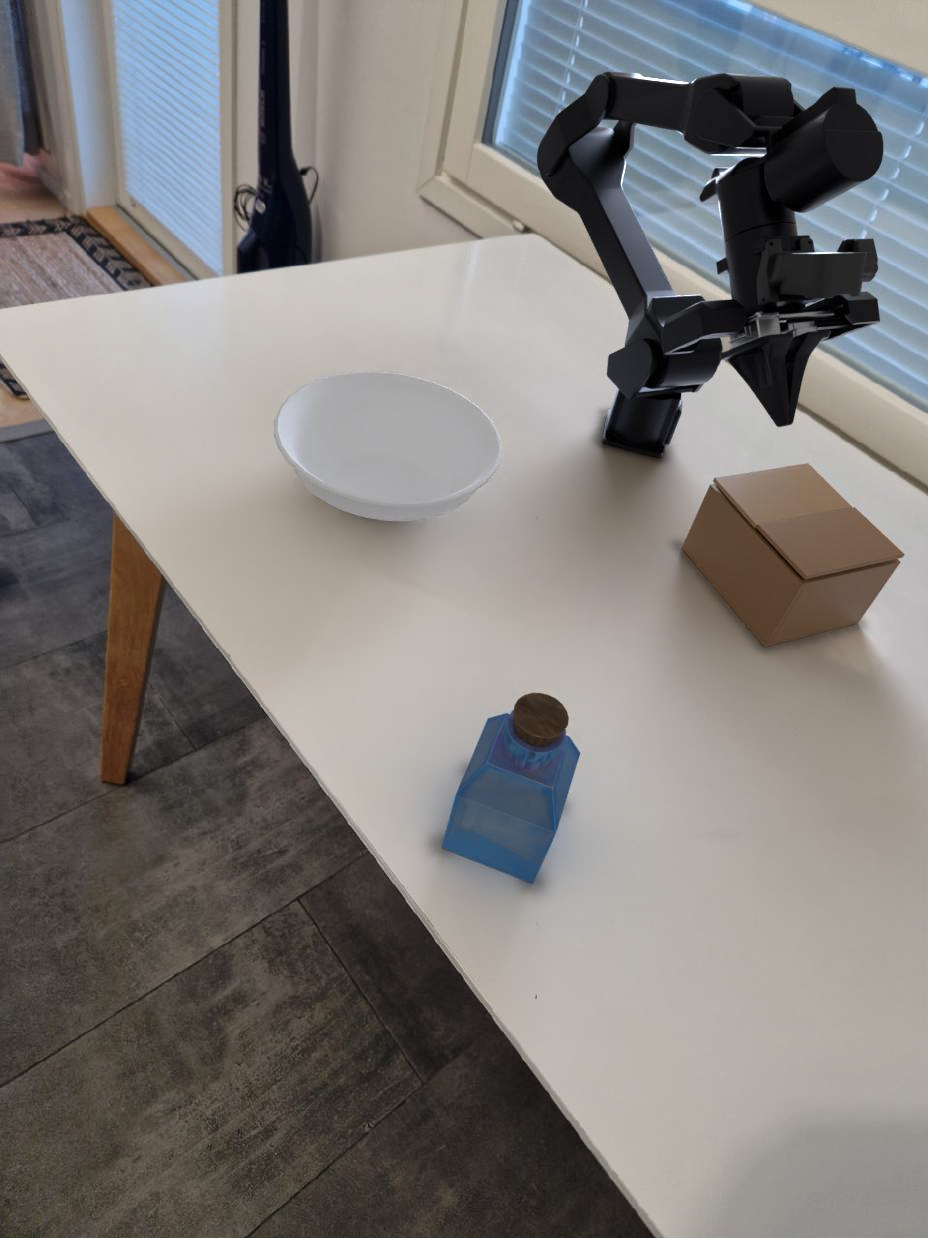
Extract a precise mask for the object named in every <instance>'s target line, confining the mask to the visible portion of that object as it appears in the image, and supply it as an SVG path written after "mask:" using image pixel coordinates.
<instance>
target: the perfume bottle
mask: <svg viewBox="0 0 928 1238" xmlns="http://www.w3.org/2000/svg"><path fill="white" fill-rule="evenodd" d="M569 721H570V717H569V714H568V710H567V709H566V707H565V705H564V704H563V703H562V702H561V701H560V700H558V699H557V697H556V698H555V697H554V696H552V695H550V694H546V693H543V692H530V693H527V694H523V695H522V696H520V698H518V699H517V700H516V702H515V703H514V706H513V709H512V710H511V711H510V713H508V712H504V713H502V714H498V715H494V716H491V717H488V718H487V719H486V722H485V724H484V726H483V728H482V731H481V734H480V736H479V738H478V741H477V743H476V746H475V747H474V750H473V753H472V755H471V757H470V759H469V761H468V764H467V767H466V770H465V772H464V774H463V776H462V779H461V781H460V784H459V786H458V788H457V791H456V792H455V793H456V794H455V796H454V800H453V804H452V807H451V811H450V814H449V818H448V821H447V826H446V829H445V831H444V836H443V839H442V844H441V849H444V850H446V851H449V852H451V853H454V854H456V855H459V856H461V857H464V858H466V859H468V860H470V861H473V862H476V863H478V864H481V865H483V866H486V867H489V868H491V869H494V870H497V871H499V872H502V873H504V874H506V875H509V876H512V877H513V878H517V879H519V880H522V881H524V882H527V883H529V884H532V885H534V883H535V882H536V879H537V877H538V875H539V872H540V870H541V867H542V866H543V863H544V861H545V859H546V856H547V855H548V852H549V851H550V847H551V846H552V843H553V842H554V839H555V836H556V835H557V832H558V828H559V825H560V821H561V818H562V815H563V812H564V808H565V806H566V801H567V798H568V795H569V791H570V789H571V786H572V783H573V780H574V779H573V778H574V776H575V772H576V769H577V765H578V762H579V759H580V756H581V751H580V750H579V749H578V747H577V745H576V744H575V743H574V741H573V740H572V738H571V737H570V736H569V735H567V727H568V726H569Z"/></svg>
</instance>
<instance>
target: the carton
mask: <svg viewBox="0 0 928 1238" xmlns="http://www.w3.org/2000/svg"><path fill="white" fill-rule="evenodd" d="M681 550H682V551H683V552H684V553H685V554H686V555H687V556H688V558H689V559H690V560H691V561H692V562H693V563H694V565H695V566H696V567H697V569H698V570H699V571H700V572H701V573H702V575H703V576H704V577H705V578H706V579H707V580H708V581H709V583H710V584H711V585H712V586H713V588H714V589H715V590H716V591H717V592H718V594H720V596H721V598H723V600H724V601H725V602H726V603H727V604H728V606H729V607H730V608H731V609H732V611H734V613H735V614H736V615H737V616H738V618H739V619H740V620H741V621H742V622H743V624H744V625H745V626H746V627H747V628H748V630H749V631H750V632H751V633H752V634H753V635H754V637H755V638H756V639H757V640H758V642H759V643H760V644H761V645H762V646H763V647H764V648H767V647H770V646H771V647H772V646H774V645H775V646H776V645H778V644H783V643H787V642H790V641H794V640H797V639H801V638H805V637H809V636H813V635H817V634H821V633H825V632H829V631H832V630H837V629H841V628H844V627H849V626H852V625H856V624H859V623H860V621H861V620H862V618H863V617H864V616H865V614H866V613H867V611H868V610H869V609H870V607H871V606H872V604H873V603H874V601H875V600H876V598H877V597H878V595H879V594H880V593H881V591H882V590H883V588H884V587H885V586H886V584H887V583H888V581H889V580H890V578H891V577H892V576H893V574H894V572H895V571H896V570H897V568H898V567H899V565H900V564H901V560H900V559H903V557H905V553H904V552H903V551H902V550H901V549H900V547H898V546H896V544H895V543H893V542H892V540H891V539H889V538H888V537H887V536H886V535H885V534H884V533H883V532H882V531H881V530H879V528H878V527H877V526H875V524H873V523H872V522H871V521H870V520H869V519H868V518H867V517H866V516H865V515H864V514H863V513H862V512H861V511H859V510H858V509H857V508H856V507H855V506H852V508H847V509H841V510H836V511H831V512H825V513H820V514H815V515H809V516H804V517H799V518H794V519H788V520H783V521H778V522H772V523H767V524H762V525H758V527H757V528H754V527H753V526H752V525H751V523H750V522H749V521H748V520H747V519H746V518H745V517H744V516H743V515H742V513H741V512H740V511H739V510H738V509H737V508H736V507H735V506H734V504H733V503H732V502H731V501H730V500H729V499H728V498H727V497H726V495H725V494H724V493H723V492H722V491H721V490H720V489H719V488H718V486H717V485H716V484H715V483H712V484H711V483H710V484H709V486H708V488H707V491H706V493H705V495H704V497H703V499H702V501H701V504H700V506H699V509H698V511H697V513H696V515H695V517H694V519H693V522H692V524H691V526H690V528H689V531H688V533H687V535H686V537H685V539H684V542H683V544H682V546H681Z"/></svg>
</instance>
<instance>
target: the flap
mask: <svg viewBox="0 0 928 1238" xmlns="http://www.w3.org/2000/svg"><path fill="white" fill-rule="evenodd" d="M712 482H713V484H716V485H717V486H718V488H719V489H720V490H721V491H722V492H723V493H724V494H725V495H726V497H727V498H728V499H729V500H730V501H731V502H732V503H733V504H734V506H735V507H736V508H737V509H738V510H739V511H740V512H741V513H742V515H743V516H744V517H745V518H746V519H747V520H748V521H749V522H750V523H751V525H752V526H753V527H754V528H757V527H758V525H762V524H767V523H772V522H778V521H783V520H788V519H794V518H799V517H804V516H809V515H815V514H820V513H825V512H831V511H836V510H841V509H847V508H852V507H853V506H852V505H851V504H850V503H849V502H848V501H847V499H845V498H844V497H843V496H842V495H841V494H840V493H839V492H838V491H837V490H836V489H835V488H834V487H833V486H832V485H831V484H830V483H829V482H828V481H827V480H826V479H825V478H824V477H823V476H822V475H821V474H820V473H818V471H817V470H816V469H814V468H813V466H812V465H810V463H808V462H805V463H799V464H793V465H786V466H781V467H774V468H767V469H762V470H755V471H749V472H742V473H736V474H730V475H725V476H723V475H722V476H717V477H714V478H713V480H712Z"/></svg>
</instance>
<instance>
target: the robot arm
mask: <svg viewBox="0 0 928 1238" xmlns="http://www.w3.org/2000/svg"><path fill="white" fill-rule="evenodd" d="M792 89H793V85H792V83H791V82H790V81H789V80H788V79H787V78H785V77H783V76H775V75H759V74H744V73H729V72H727V73H726V72H719V73H715V74H711V75H706V76H700V77H696V78H695V79H694V80H693V81H691V82H686V81H678V80H670V79H663V78H654V77H645V76H643V75H642V74H640V73H638V72H623V71H620V72H619V71H604V72H603V71H602V73H599V74H597V75H595V76H594V78H592V80H591V82H590V84H589V85H588V87H587V89H586V90H585V92H584V93H583V94H582V95H580V96H579V97H578V98H577V99H575V100H574V101H573V102H572V103H570V104H569V105H567V106H566V107H565V108H563V109H562V110H561V111H560V112H558V113H557V114H556V115H555V117H554V118H553V119H552V122H551V123H550V125H549V126H548V128H547V130H546V131H545V134H544V136H543V137H542V138H541V141H540V143H539V145H538V147H537V152H536V165H537V169H538V171H539V174H540V178H541V180H542V182H543V183H544V185H545V186H546V187H547V189H548V191H549V192H550V194H551V195H552V196H553V198H554V199H556V200H557V202H559V203H561V204H562V205H565V206H566V207H568V208H569V209H571V210H572V211H573V212H574V213H577V214H578V216H579V217H580V219H581V222H582V224H583V226H584V228H585V231H586V232H587V234H588V236H589V238H590V241H591V243H592V245H593V247H594V249H595V251H596V253H597V255H598V257H599V260H600V261H601V263H602V266H603V268H604V270H605V272H606V275H607V276H608V278H609V281H610V283H611V284H612V286H613V287H612V288H613V289H614V291H615V293H616V295H617V297H618V299H619V301H620V304H621V306H622V307H623V310H624V312H625V315H626V316H627V319H628V325H627V329H626V335H625V339H624V346H623V347H622V348H620V349H618V350H615V351H614V352H612V353H609V354H608V356H607V367H606V377H607V378H608V379H609V380H610V381H611V382H612V383H613V384H614V385H615V387H616V391H615V394H614V397H613V400H612V404H611V407H610V408H608V410H607V412H606V417H605V421H604V428H603V433H602V439H601V441H602V443H604V444H606V445H610V446H614V447H616V448H617V447H618V448H621V449H624V450H628V451H633V452H637V453H640V454H644V455H648V456H652V457H655V458H662V457H663V456H664V454H665V446H668V445H670V444H671V441H672V439H673V437H674V434H675V431H676V428H677V426H678V424H679V421H680V418H681V416H682V413H683V400H682V394H683V393H698V392H699V391H700V390H701V388H703V386H704V385H705V383H708V382H709V381H710V380H712V378H713V377H714V376H715V374H716V372H717V370H718V368H719V366H720V365H721V362H722V361H727V362H728V363H729V364H730V366H732V368H733V369H734V370H735V371H736V372H737V374H738V375H739V376H740V377H741V379H742V380H743V381H744V382H745V383H746V385H748V387H749V389H750V390H751V391H752V393H753V394H754V396H755V397H756V399H757V400H758V401H759V403H760V404H761V406H762V407H763V409H764V410H765V412H766V413H767V415H768V416H769V418H770V419H771V421H772V422H773V423H774V425H775V426H776V427H777V428H784V427H788V426H792V425H793V424H794V421H795V416H796V412H797V407H798V402H799V398H800V393H801V389H802V384H803V381H804V380H803V379H804V375H805V371H806V369H807V365H808V362H809V359H810V356H811V355H812V353H813V352H814V351H815V349H816V348H817V347H818V345H819V344H820V342H826V341H827V342H828V341H830V340H834V339H837V338H840V337H842V336H846V335H849V334H851V333H854V332H857V331H860V330H863V329H865V328H868V327H871V326H874V325H876V324H879V323H880V322H881V317H880V309H879V307H880V306H879V300H878V298H877V297H876V296H875V295H873V294H871V292H869V291H862V288H863V283H869V282H872V281H873V280H874V279H875V277H876V275H877V273H878V271H879V265H878V263H879V257H878V252H877V249H876V244H875V240H874V238H873V237H872V238H871V237H870V238H844V239H843V240H842V241H841V242H840V244H839V246H838V248H837V250H836V251H825V252H824V251H823V252H820V251H818V252H816V250H815V243H814V240H813V239H812V238H811V235H810V234H808V235H807V234H806V235H805V234H804V235H799V234H798V227H797V218H796V213H799V214H805V213H808V212H809V213H810V212H812V211H813V210H815V209H817V208H820V207H821V206H823V205H825V204H826V203H828V202H830V201H832V200H834V199H835V198H838V197H839V196H840V195H843V194H844V193H847V192H848V191H850V190H852V189H853V188H855V187H857V186H859V185H861V184H862V183H864V182H866V181H868V180H870V179H871V178H873V177H874V176H875V175H876V174H877V172H878V171H879V169H880V167H881V164H882V162H883V158H884V153H885V151H884V148H885V147H884V138H883V133H882V132H881V131H880V130H879V129H878V126H877V124H876V122H875V121H874V119H873V117H872V116H871V114H870V113H869V112H868V111H867V109H866V108H864V107H863V106H862V105H860V104H859V103H858V101H857V94H856V92H857V91H856V89H855V88H854V87H844V86H833V87H831V88H829V89H828V90H827V91H826V92H824V93H823V94H822V95H820V96H819V97H818V99H816V100H815V102H814V103H813V104H811V105H810V106H808V107H807V108H805V107H803V106H802V105H801V104H800V103H799V102H798V101H797V100H796V99H795V98H794V93H793V90H792ZM602 121H617V123H616V124H615V125H614V127H613V128H611V127H606V126H605V127H603V126H602V127H601V126H599V125H600V123H601V122H602ZM637 125H643V126H647V127H653V128H657V129H664V130H669V131H673V132H676V133H678V134H680V135H681V136H682V139H683V141H684V142H685V144H687V145H689V146H691V147H693V148H694V149H696V150H698V151H700V152H701V153H703V154H704V155H707V156H739V157H741V156H742V157H743V156H745V157H746V156H749V157H746V158H743V159H742V160H740V161H738V162H737V163H736V164H734V165H733V166H731V167H714V168H713V169H712V173H711V176H710V178H709V180H707V182H706V183H705V185H704V186H703V188H702V189H701V192H700V194H699V201H700V203H718V210H719V217H720V224H721V231H722V238H723V244H724V246H723V247H724V253H725V254H724V255H725V257H724V258H722V259H720V260H718V261H715V265H716V272H717V273H716V274H717V275H718V276H719V275H728V276H727V277H728V283H729V290H730V296H731V299H715V300H706V299H705V298H704V297H703V295H702V294H688V295H687V294H686V295H678V294H677V293H676V291H675V290H674V288H673V286H672V284H671V282H670V280H669V278H668V275H667V274H666V272H665V269H664V268H663V266H662V264H661V262H660V260H659V258H658V257H657V254H656V252H655V251H654V249H653V246H652V245H651V242H650V240H649V239H648V236H647V235H646V233H645V231H644V229H643V226H642V224H641V222H640V220H639V219H638V216H637V215H636V213H635V210H634V209H633V207H632V205H631V202H630V201H629V199H628V197H627V195H626V193H625V191H624V188H623V181H624V176H625V171H626V166H627V162H626V160H627V158H628V157H629V155H630V154H631V153H632V151H633V150H634V148H635V143H636V141H635V139H636V127H637ZM808 304H809V305H808ZM806 305H807V306H806ZM722 338H723V339H724V338H729V341H728V345H729V349H728V350H725V351H723V350H724V347H723V342H722Z"/></svg>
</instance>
